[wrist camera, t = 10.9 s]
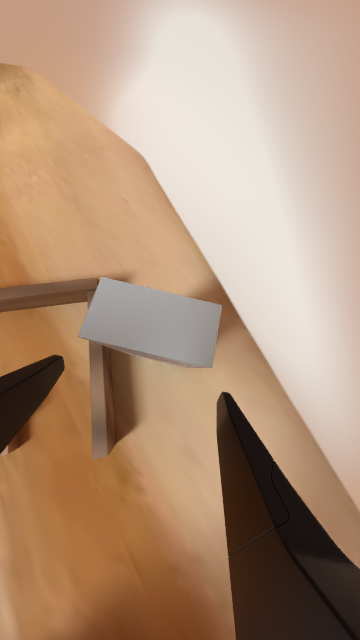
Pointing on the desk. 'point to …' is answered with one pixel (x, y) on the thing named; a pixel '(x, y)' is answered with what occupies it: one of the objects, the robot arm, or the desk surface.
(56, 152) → the desk surface
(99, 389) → the wooden frame
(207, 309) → the tall board
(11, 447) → the offcut lower
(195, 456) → the desk surface
